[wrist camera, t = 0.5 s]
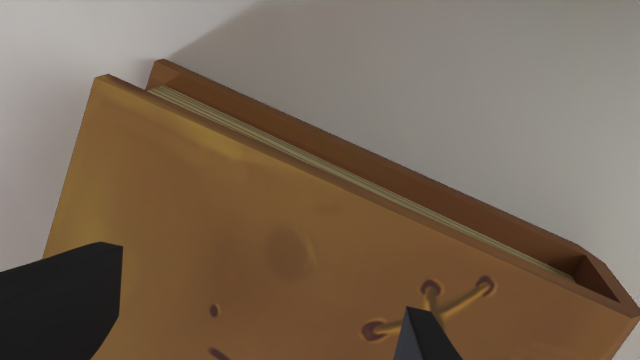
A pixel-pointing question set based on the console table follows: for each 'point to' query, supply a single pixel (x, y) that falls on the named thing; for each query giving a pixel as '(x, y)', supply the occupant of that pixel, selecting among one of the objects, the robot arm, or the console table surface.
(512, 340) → the diary
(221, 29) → the console table surface
